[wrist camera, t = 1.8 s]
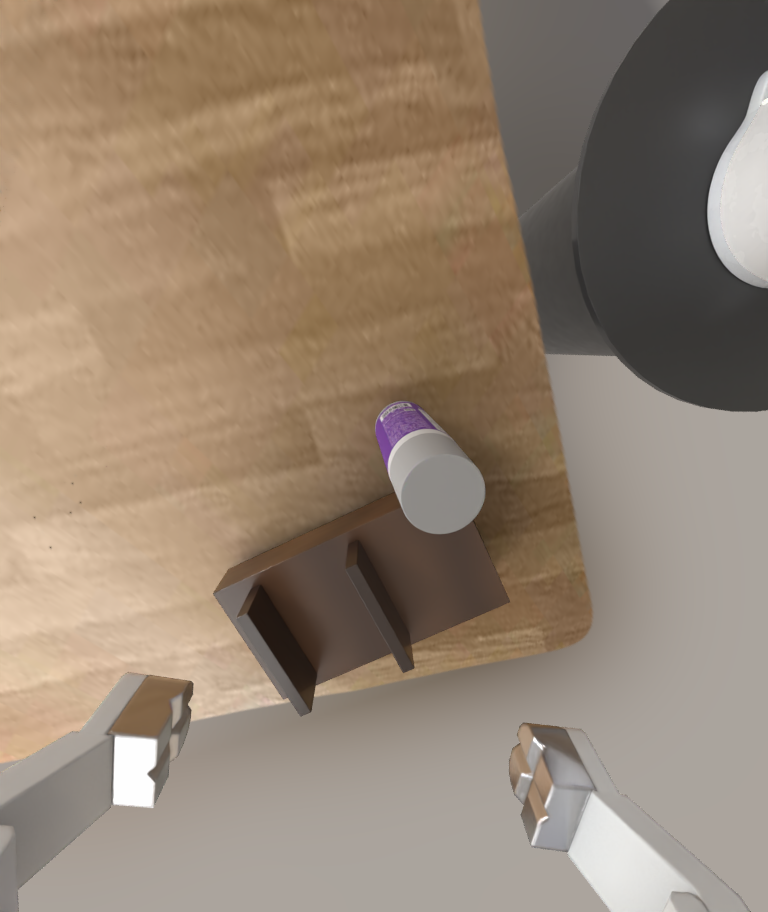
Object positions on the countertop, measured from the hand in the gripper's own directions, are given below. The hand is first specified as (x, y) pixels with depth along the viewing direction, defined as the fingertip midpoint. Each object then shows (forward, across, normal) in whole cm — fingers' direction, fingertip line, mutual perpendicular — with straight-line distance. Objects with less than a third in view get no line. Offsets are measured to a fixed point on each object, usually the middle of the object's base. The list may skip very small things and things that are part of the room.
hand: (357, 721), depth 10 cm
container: (+27, -2, -3) cm, 27 cm away
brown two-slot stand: (+27, -2, +11) cm, 29 cm away
